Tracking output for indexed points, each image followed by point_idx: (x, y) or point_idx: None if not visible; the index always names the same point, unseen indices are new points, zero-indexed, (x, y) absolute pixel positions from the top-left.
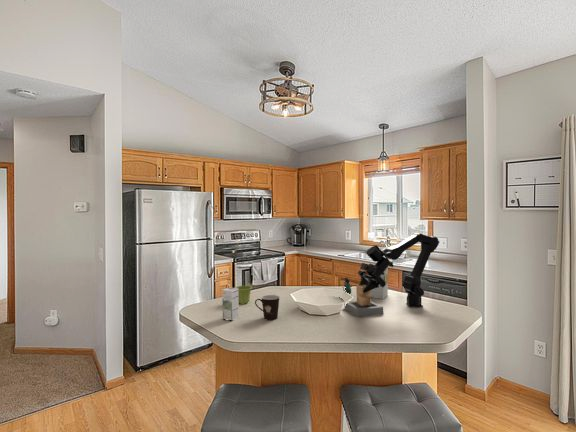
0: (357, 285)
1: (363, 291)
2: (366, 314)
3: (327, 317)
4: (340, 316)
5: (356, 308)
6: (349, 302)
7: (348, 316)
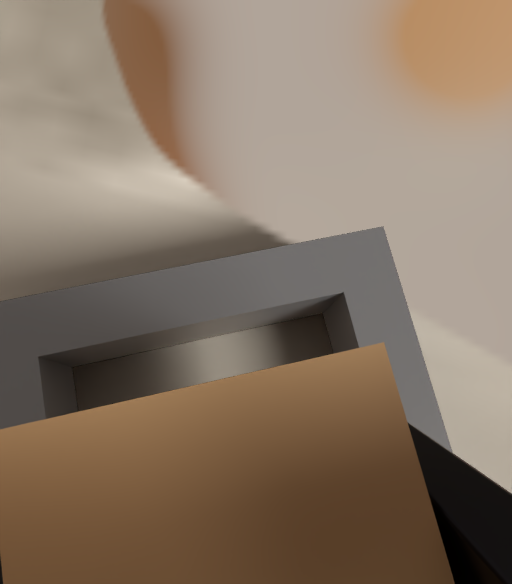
0: (366, 379)
1: None
2: None
3: (71, 17)
4: (77, 144)
5: (31, 308)
6: (356, 291)
7: (59, 227)
